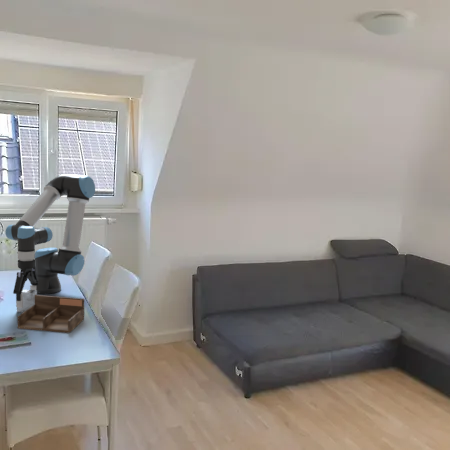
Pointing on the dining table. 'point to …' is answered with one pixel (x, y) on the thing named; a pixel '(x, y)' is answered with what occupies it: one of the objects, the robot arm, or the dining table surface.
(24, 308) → the block
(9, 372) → the dining table surface
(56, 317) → the rack
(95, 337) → the dining table surface
